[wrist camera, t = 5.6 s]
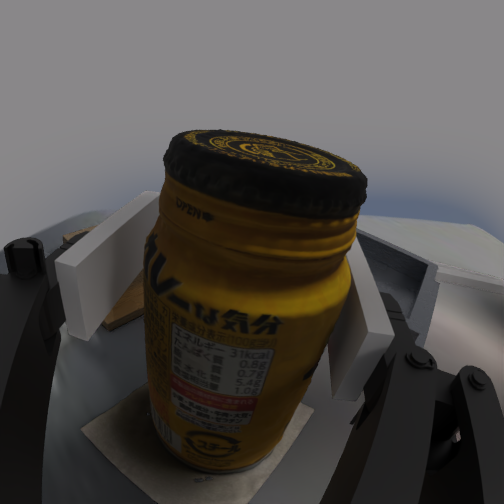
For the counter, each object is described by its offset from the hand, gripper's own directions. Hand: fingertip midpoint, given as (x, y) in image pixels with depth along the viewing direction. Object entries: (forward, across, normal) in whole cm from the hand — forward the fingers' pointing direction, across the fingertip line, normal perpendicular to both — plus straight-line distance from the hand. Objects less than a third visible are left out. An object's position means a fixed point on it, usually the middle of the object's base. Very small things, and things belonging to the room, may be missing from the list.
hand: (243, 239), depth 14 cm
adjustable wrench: (+17, +31, -8) cm, 36 cm away
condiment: (-5, 0, -8) cm, 9 cm away
